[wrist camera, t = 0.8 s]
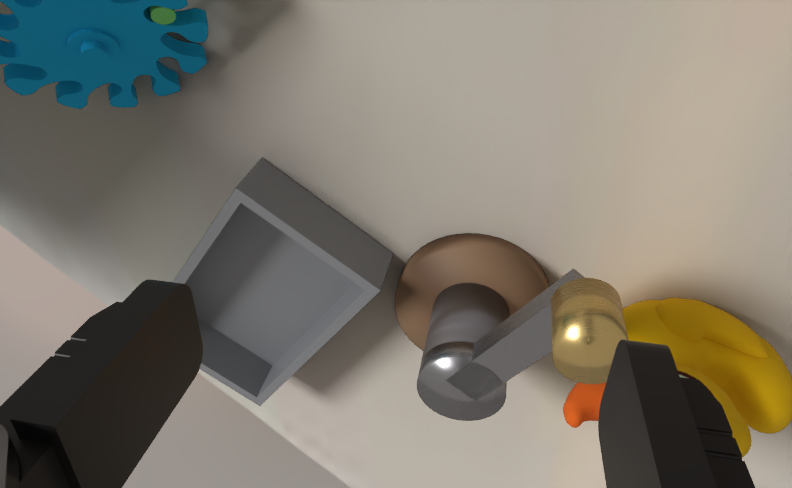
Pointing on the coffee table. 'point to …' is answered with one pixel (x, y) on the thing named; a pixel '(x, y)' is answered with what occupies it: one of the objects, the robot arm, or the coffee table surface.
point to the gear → (98, 46)
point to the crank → (527, 348)
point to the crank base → (463, 268)
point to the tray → (276, 281)
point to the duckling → (706, 365)
